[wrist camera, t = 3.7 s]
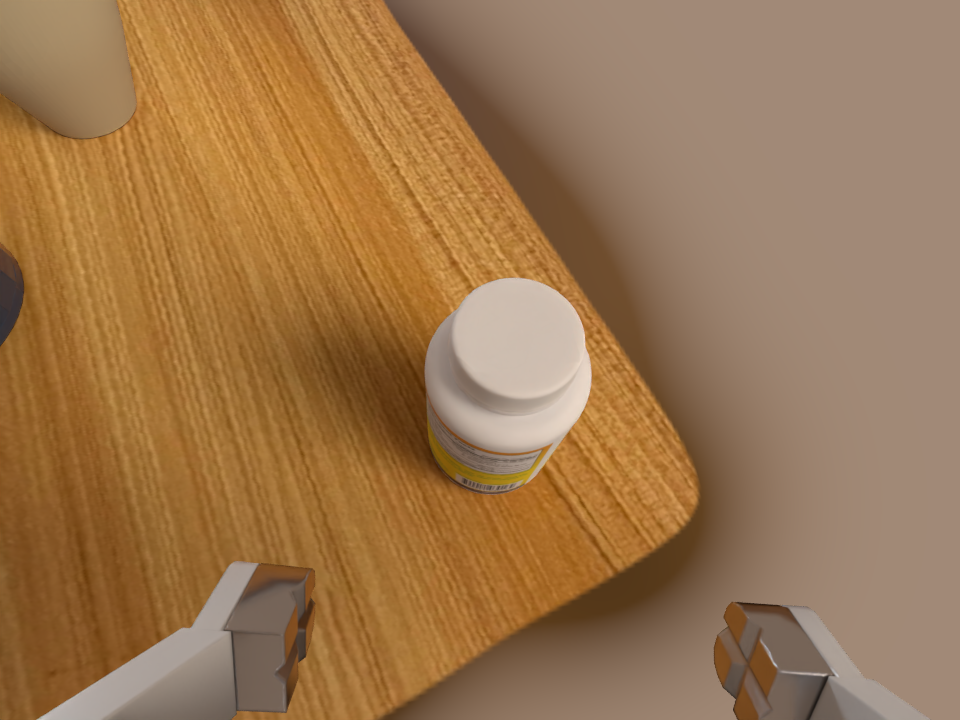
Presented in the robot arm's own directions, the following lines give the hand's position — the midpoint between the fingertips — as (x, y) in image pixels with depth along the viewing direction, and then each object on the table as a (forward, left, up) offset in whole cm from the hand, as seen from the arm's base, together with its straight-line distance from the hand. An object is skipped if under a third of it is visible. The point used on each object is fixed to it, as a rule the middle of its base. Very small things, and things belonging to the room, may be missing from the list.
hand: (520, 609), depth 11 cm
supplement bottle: (+7, -2, -13) cm, 15 cm away
